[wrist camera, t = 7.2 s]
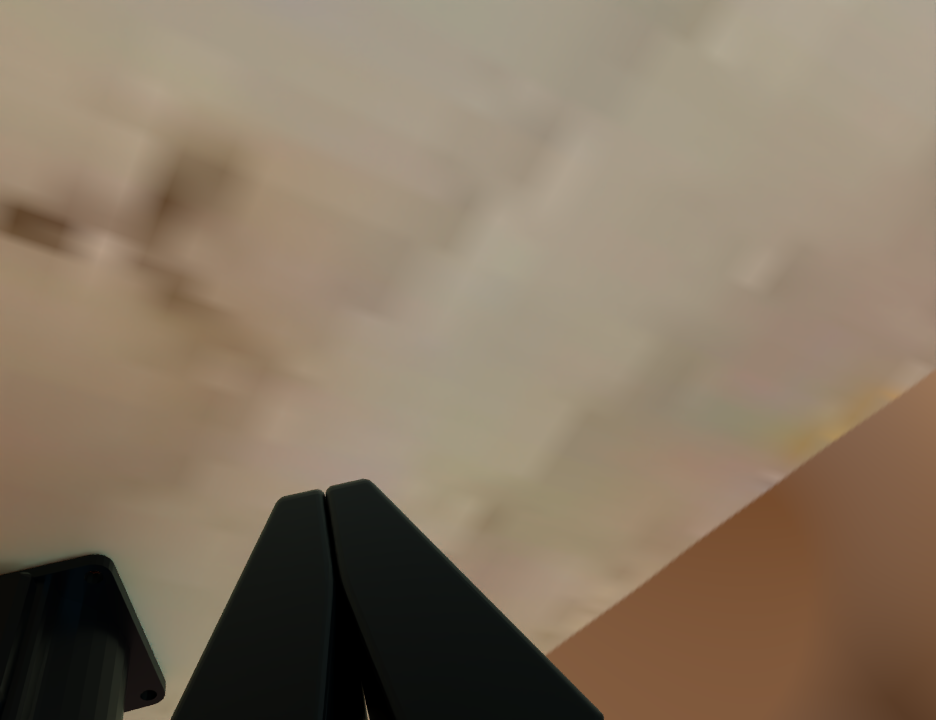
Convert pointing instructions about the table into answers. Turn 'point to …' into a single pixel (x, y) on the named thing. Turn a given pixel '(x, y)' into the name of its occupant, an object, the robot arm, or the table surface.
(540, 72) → the table surface
